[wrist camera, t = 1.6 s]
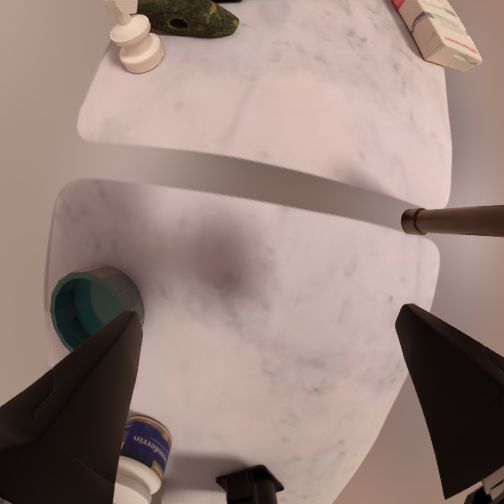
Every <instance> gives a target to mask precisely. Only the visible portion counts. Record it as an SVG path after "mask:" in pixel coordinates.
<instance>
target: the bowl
mask: <svg viewBox="0 0 504 504" xmlns="http://www.w3.org/2000/svg"><path fill="white" fill-rule="evenodd" d="M125 310H132V311H136V312H137V313H138V316H139V319H140V323H141V326H142V327H143V323H144V305H143V301H142V298H141V295H140V293H139V291H138V289H137V287H136V286H135V284H134V283H133V282H132V281H131V280H130V278H129V277H128V276H126V275H125V274H124V273H122V272H121V271H119V270H117V269H115V268H113V267H109V266H95V267H89V268H85V269H82V270H78V271H75V272H72V273H69V274H68V275H66V276H65V277H63V278H62V279H61V280H59V281H58V283H57V285H56V287H55V289H54V291H53V293H52V296H51V306H50V312H51V317H52V322H53V326H54V329H55V331H56V333H57V335H58V336H59V338H60V340H61V342H62V343H63V345H64V346H65V347H66V348H67V349H68V350H69V351H70V352H72V351H74V350H75V349H76V348H77V347H79V346H80V345H81V344H82V343H83V342H85V341H86V340H87V339H88V338H90V337H91V336H92V335H93V334H95V333H96V332H97V331H99V330H100V329H101V328H102V327H104V326H105V325H106V324H107V323H109V322H110V321H111V320H113V319H114V318H115V317H116V316H118V315H119V314H120V313H122V312H123V311H125Z"/></svg>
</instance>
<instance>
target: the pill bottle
mask: <svg viewBox="0 0 504 504" xmlns="http://www.w3.org/2000/svg"><path fill="white" fill-rule="evenodd" d="M171 444H172V440H171V436H170V434H169V432H168V431H167V430H166V429H165V428H164V427H163V426H162V425H161V424H159V423H158V422H156V421H154V420H152V419H149V418H146V417H140V416H135V417H130V418H128V419H127V421H126V426H125V431H124V436H123V441H122V446H121V452H120V457H119V463H118V469H117V476H116V483H115V491H114V499H113V503H115V504H150V503H151V499H152V496H151V494H154V493H155V492H157V491H158V490H159V488H160V486H161V483H162V479H163V475H164V471H165V467H166V463H167V460H168V456H169V452H170V448H171Z"/></svg>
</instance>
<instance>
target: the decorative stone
mask: <svg viewBox="0 0 504 504" xmlns="http://www.w3.org/2000/svg"><path fill="white" fill-rule="evenodd" d="M138 14H140V15H144V16H146V17H147V18H148V20H149V23H150V26H151V28H155V29H159V30H162V31H166V32H169V33H173V34H179V35H190V36H207V37H212V36H224V35H230V34H232V33H234V32H235V30H236V29H237V27H238V25H239V19H238V18H237V17H236V16H235V15H233V14H232V13H230V12H229V11H227V10H226V9H224V8H223V7H221V6H219V5H218V4H216V3H214V2H213V1H211V0H138V3H137V12H136V13H134V14H129V15H138Z"/></svg>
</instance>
